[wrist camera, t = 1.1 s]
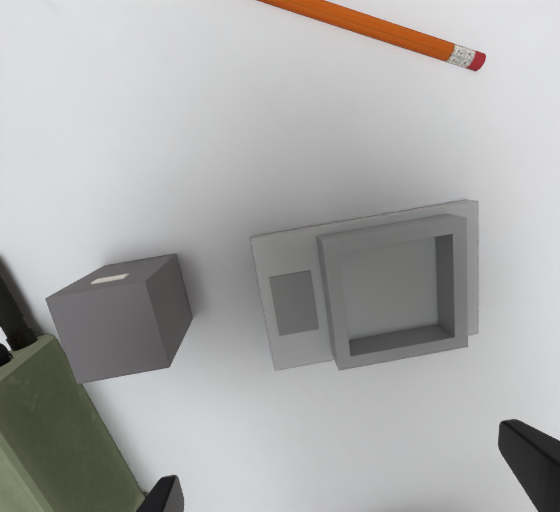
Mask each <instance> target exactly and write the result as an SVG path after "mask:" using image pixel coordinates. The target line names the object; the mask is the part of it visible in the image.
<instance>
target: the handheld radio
mask: <svg viewBox="0 0 560 512" xmlns="http://www.w3.org/2000/svg"><path fill="white" fill-rule="evenodd" d="M0 327H1V328H2V330H3V331H4V333H5V335H6V336H7V339H6V341H7V342H8V344H9V346H10V347H11V349H12V350H10V351H8V350H7V348H6V347H5V346H4V345H3V344H1V343H0V512H135V511H136V510H137V509H138V507H139V506H140V505H141V503H142V502H143V501H144V499H145V498H146V497H145V496H144V494H143V492H142V490H141V489H140V487H139V485H138V483H137V481H136V480H135V478H134V476H133V474H132V472H131V471H130V469H129V467H128V465H127V464H126V462H125V460H124V458H123V456H122V455H121V453H120V451H119V449H118V448H117V446H116V444H115V442H114V440H113V439H112V437H111V435H110V433H109V432H108V430H107V428H106V426H105V424H104V423H103V421H102V419H101V417H100V415H99V414H98V412H97V410H96V408H95V407H94V405H93V403H92V401H91V399H90V398H89V396H88V394H87V392H86V391H85V389H84V387H83V385H82V383H81V384H77V382H76V379H75V377H74V374H73V371H72V369H71V366H70V363H69V361H68V359H67V357H66V355H65V353H64V351H63V350H62V348H61V346H60V344H59V342H58V341H57V339H56V338H55V337H54V336H53V335H51V334H45V335H41V336H38V337H36V336H35V334H34V332H33V330H32V329H31V328H28V326H27V324H26V322H25V321H24V319H23V314H22V313H21V311H20V309H19V307H18V306H17V304H16V302H15V300H14V299H13V297H12V295H11V293H10V291H9V290H8V288H7V286H6V284H5V283H4V281H3V279H2V277H1V276H0Z"/></svg>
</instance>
